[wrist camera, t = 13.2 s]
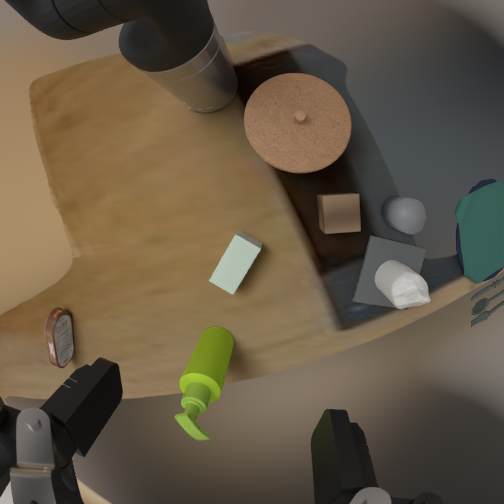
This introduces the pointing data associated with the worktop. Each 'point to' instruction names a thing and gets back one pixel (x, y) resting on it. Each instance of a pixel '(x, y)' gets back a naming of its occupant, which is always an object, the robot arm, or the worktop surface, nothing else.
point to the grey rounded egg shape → (404, 214)
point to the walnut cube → (339, 212)
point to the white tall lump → (401, 285)
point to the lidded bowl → (297, 123)
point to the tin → (59, 337)
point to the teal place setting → (481, 239)
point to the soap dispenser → (204, 377)
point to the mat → (375, 257)
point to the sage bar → (236, 262)
